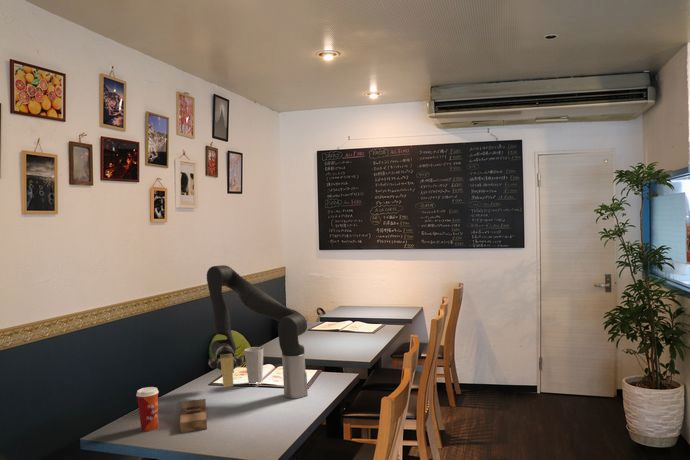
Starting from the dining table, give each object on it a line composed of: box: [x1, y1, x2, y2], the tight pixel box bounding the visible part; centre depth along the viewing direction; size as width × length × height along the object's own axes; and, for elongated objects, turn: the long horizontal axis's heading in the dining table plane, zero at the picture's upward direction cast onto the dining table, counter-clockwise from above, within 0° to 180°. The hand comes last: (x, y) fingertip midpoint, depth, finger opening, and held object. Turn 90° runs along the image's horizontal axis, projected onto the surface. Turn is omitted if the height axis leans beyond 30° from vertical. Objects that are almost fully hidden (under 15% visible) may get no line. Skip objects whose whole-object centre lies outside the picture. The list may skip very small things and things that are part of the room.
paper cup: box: [135, 386, 160, 432], centre depth 205 cm, size 8×8×14 cm
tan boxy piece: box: [220, 353, 235, 388], centre depth 219 cm, size 5×7×11 cm, turn 15°
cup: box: [243, 346, 264, 384], centre depth 254 cm, size 8×8×16 cm
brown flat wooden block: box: [179, 398, 208, 433], centre depth 212 cm, size 9×24×4 cm, turn 15°
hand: (227, 366), depth 217 cm, fingers closed on tan boxy piece, 4 cm apart
